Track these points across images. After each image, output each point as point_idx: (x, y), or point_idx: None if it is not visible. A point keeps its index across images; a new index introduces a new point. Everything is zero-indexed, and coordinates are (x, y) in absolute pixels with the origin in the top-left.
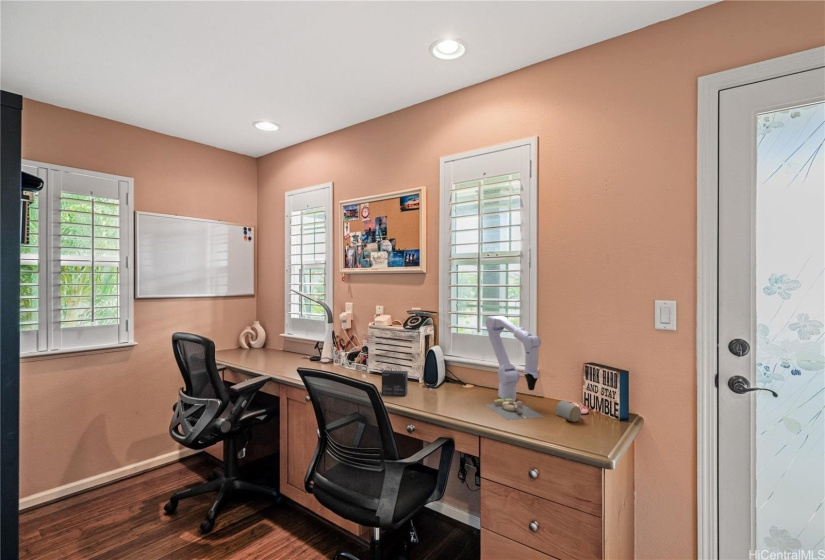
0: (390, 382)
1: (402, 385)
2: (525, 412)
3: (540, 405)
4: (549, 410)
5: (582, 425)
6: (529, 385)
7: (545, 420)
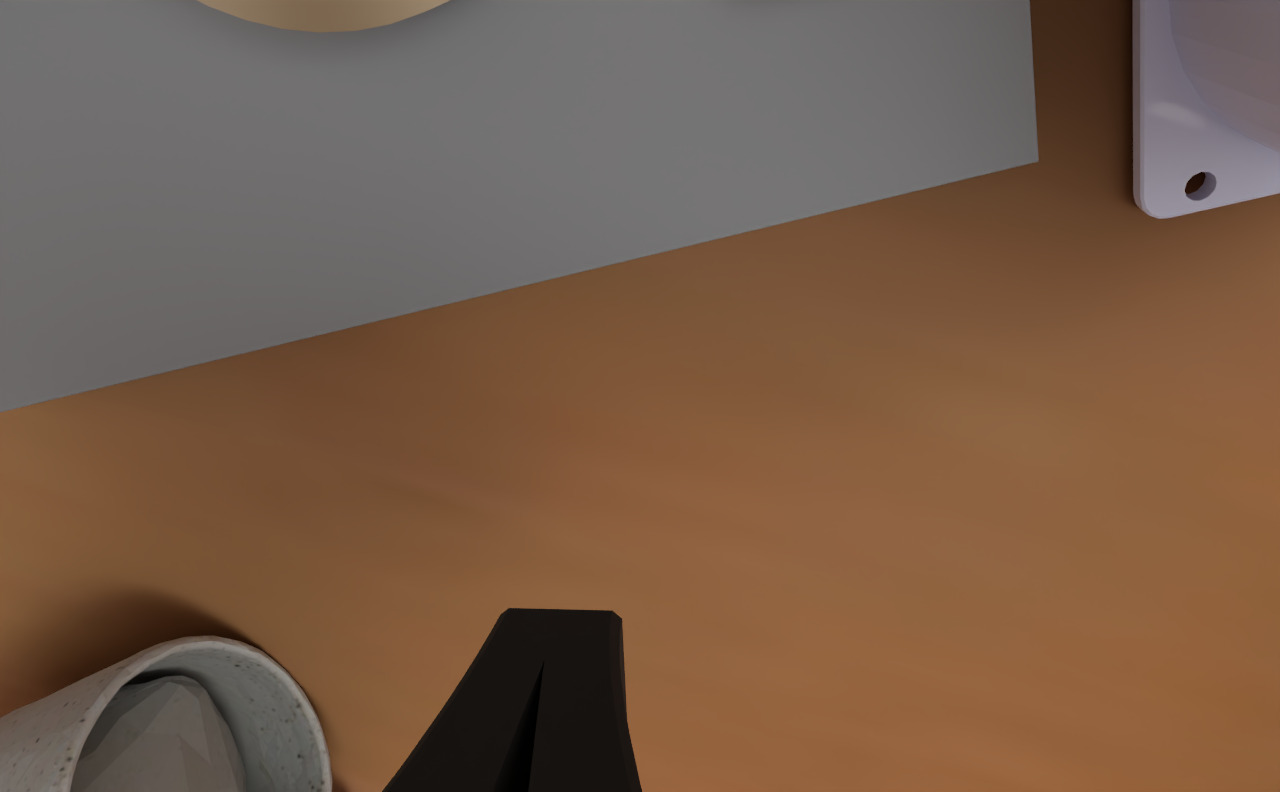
0: None
1: None
2: (123, 93)
3: (919, 582)
4: None
5: None
6: (410, 778)
7: None
